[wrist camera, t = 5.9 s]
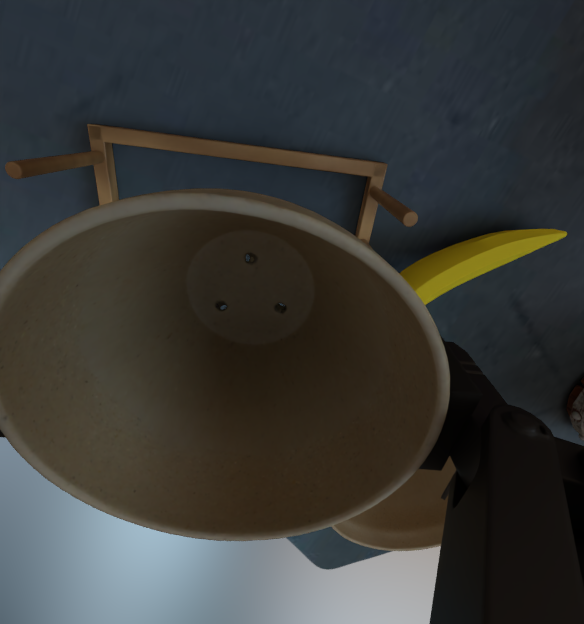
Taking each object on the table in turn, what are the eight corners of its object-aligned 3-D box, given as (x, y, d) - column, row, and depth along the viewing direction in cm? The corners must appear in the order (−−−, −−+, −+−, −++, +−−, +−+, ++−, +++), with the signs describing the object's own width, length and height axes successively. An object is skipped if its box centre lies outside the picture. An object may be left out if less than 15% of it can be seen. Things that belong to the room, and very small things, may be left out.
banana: (504, 231, 30) (581, 256, 26) (332, 329, 26) (388, 381, 21) (510, 201, 29) (595, 221, 24) (326, 300, 24) (386, 350, 19)
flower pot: (73, 270, 13) (-121, 405, 7) (265, 79, 10) (226, 13, 4) (244, 412, 17) (218, 578, 11) (420, 305, 14) (524, 451, 8)
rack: (95, 124, 24) (-11, 122, 15) (383, 162, 25) (432, 180, 17) (123, 317, 31) (62, 387, 23) (342, 339, 33) (361, 412, 24)
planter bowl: (451, 447, 40) (501, 545, 31) (318, 457, 41) (327, 557, 32) (471, 337, 33) (546, 423, 23) (307, 352, 33) (315, 442, 24)
